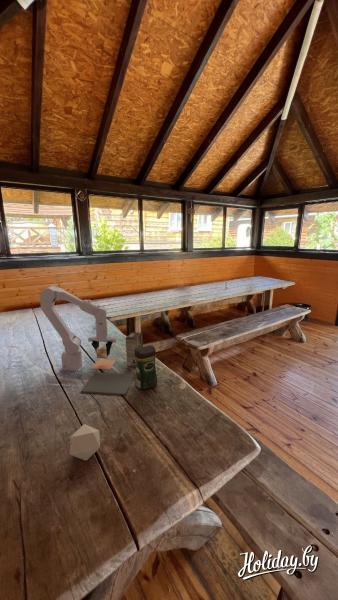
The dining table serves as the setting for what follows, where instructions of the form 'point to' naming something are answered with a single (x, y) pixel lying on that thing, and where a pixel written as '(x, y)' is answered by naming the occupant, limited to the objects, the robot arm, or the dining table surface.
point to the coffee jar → (145, 367)
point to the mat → (108, 383)
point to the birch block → (102, 352)
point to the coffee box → (133, 346)
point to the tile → (103, 364)
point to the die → (84, 442)
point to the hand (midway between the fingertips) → (103, 354)
